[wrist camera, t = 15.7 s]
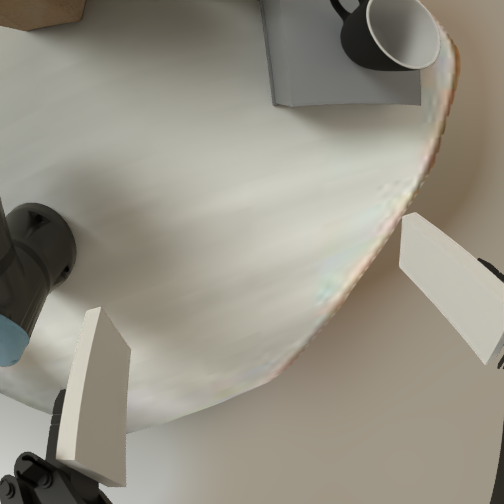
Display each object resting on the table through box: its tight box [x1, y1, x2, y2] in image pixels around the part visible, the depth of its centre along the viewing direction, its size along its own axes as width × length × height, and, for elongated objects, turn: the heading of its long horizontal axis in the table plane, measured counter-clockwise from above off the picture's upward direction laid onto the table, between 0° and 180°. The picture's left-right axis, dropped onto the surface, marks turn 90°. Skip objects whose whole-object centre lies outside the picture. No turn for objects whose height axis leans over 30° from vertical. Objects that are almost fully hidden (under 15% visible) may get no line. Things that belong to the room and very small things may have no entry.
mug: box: [330, 0, 441, 71], centre depth 23 cm, size 12×9×10 cm
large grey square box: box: [259, 0, 421, 107], centre depth 32 cm, size 21×19×8 cm
